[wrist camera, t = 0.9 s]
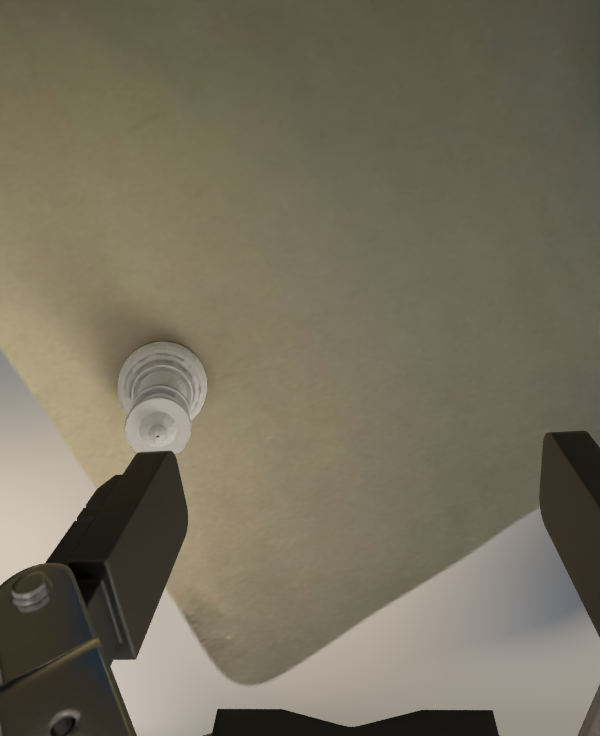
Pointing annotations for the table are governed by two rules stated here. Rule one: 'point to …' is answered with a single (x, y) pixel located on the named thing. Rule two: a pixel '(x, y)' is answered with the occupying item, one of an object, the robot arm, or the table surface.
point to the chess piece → (161, 396)
